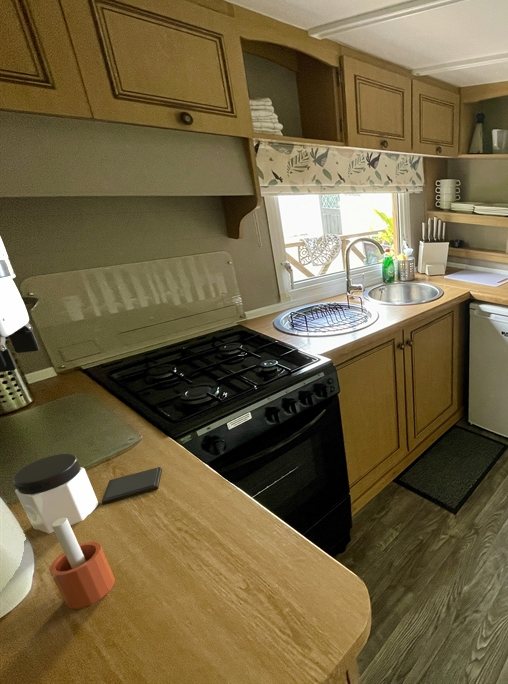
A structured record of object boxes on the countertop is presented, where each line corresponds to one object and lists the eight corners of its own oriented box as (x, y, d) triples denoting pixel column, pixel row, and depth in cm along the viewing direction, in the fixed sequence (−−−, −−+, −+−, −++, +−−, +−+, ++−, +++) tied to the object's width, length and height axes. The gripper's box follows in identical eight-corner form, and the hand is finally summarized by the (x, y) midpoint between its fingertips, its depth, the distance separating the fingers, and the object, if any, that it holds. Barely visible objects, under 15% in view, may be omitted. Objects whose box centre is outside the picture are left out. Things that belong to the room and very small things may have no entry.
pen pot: (62, 618, 56) (43, 581, 53) (73, 586, 60) (56, 551, 58) (111, 599, 59) (95, 563, 56) (119, 570, 63) (104, 536, 60)
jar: (24, 527, 70) (-2, 477, 66) (77, 496, 78) (57, 449, 73) (56, 540, 68) (32, 488, 64) (107, 506, 75) (88, 459, 71)
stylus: (82, 597, 58) (49, 528, 53) (86, 588, 60) (54, 519, 54) (95, 593, 59) (64, 524, 54) (99, 584, 60) (69, 516, 55)
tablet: (102, 505, 76) (101, 501, 75) (110, 483, 81) (109, 479, 81) (158, 488, 80) (157, 485, 80) (162, 469, 86) (161, 465, 86)
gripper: (-26, 263, 69) (9, 347, 75) (-91, 283, 55) (-42, 384, 61) (32, 261, 73) (61, 342, 79) (-16, 280, 59) (24, 376, 65)
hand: (16, 360), depth 70 cm, fingers open, 9 cm apart
